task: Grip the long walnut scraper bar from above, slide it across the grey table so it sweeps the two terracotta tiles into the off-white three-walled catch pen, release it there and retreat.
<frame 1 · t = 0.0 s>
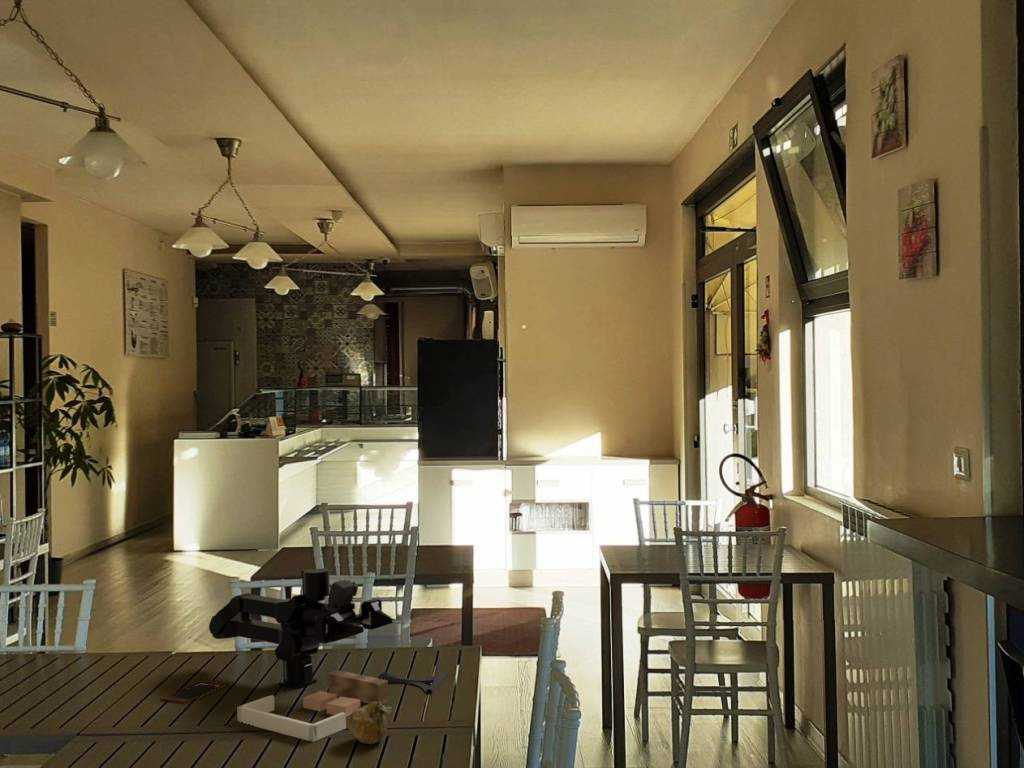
hand: (377, 625, 218), 17 cm above the table, tool horizontal, fingers open, 9 cm apart
smartphone: (195, 695, 228), on the table
tile b: (343, 713, 212), on the table
bracket: (410, 686, 232), on the table
tile a: (320, 707, 216), on the table
catch pen: (291, 724, 205), on the table
onion: (368, 742, 194), on the table
scraper bar: (358, 699, 221), on the table
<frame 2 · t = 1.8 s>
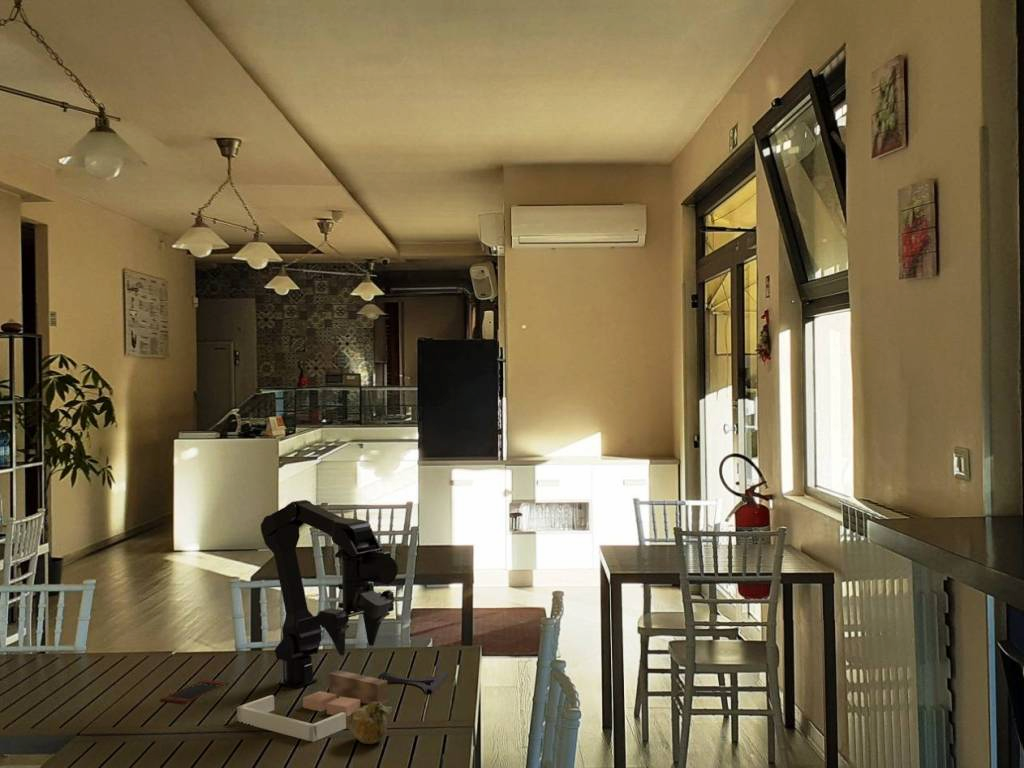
hand: (356, 650, 221), 11 cm above the table, tool pointing down, fingers open, 9 cm apart
nothing on the table moved.
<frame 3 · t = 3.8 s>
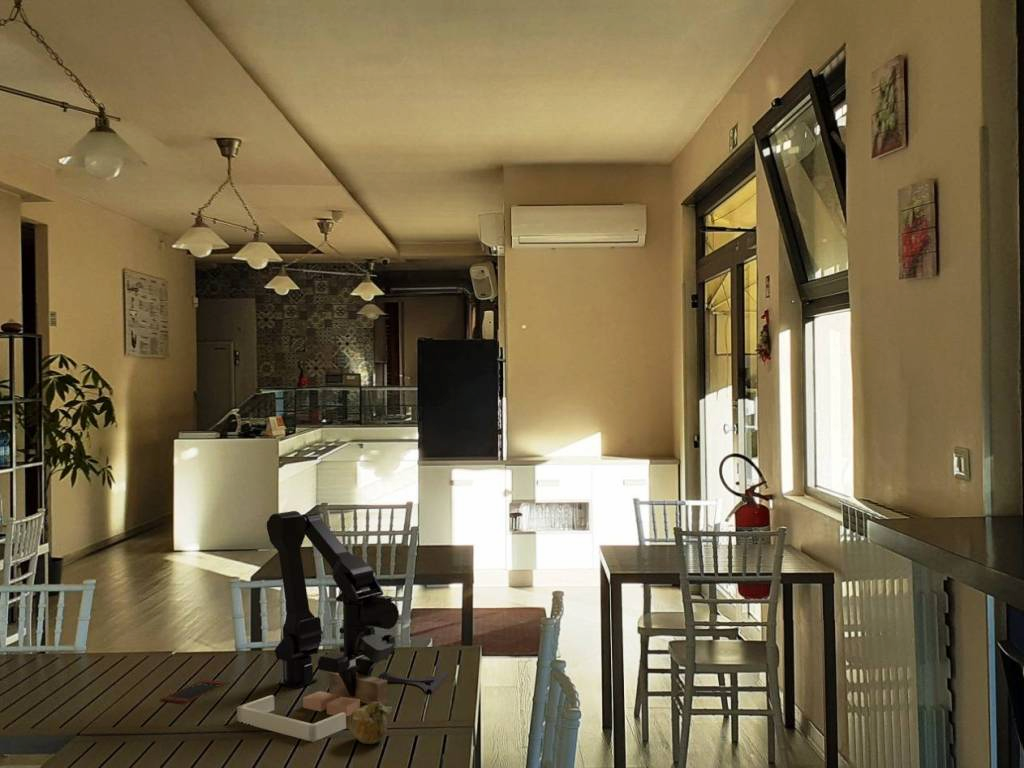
hand: (358, 694, 221), 1 cm above the table, tool pointing down, fingers closed on scraper bar, 3 cm apart
scraper bar: (358, 699, 221), on the table, touching gripper
everything else where it was.
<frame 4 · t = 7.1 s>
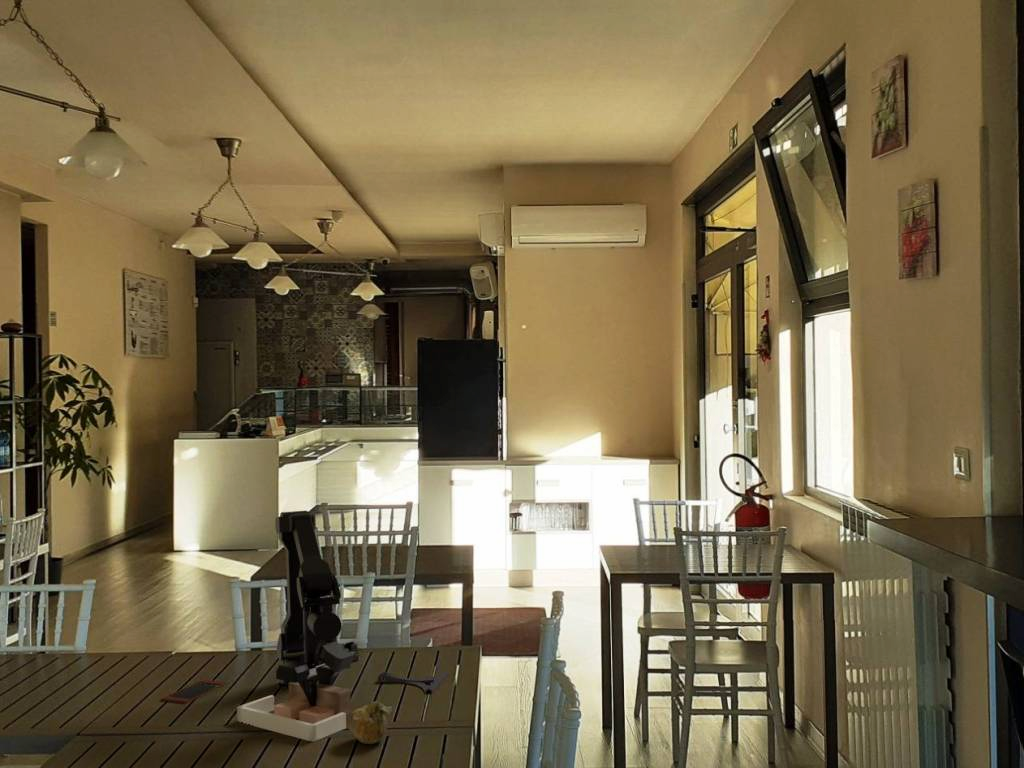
hand: (319, 704, 211), 2 cm above the table, tool pointing down, fingers closed on scraper bar, 3 cm apart
tile b: (317, 723, 206), on the table, touching scraper bar
tile a: (291, 716, 210), on the table
scraper bar: (319, 709, 211), point 1 cm above the table, touching gripper, tile b
everything else where it was.
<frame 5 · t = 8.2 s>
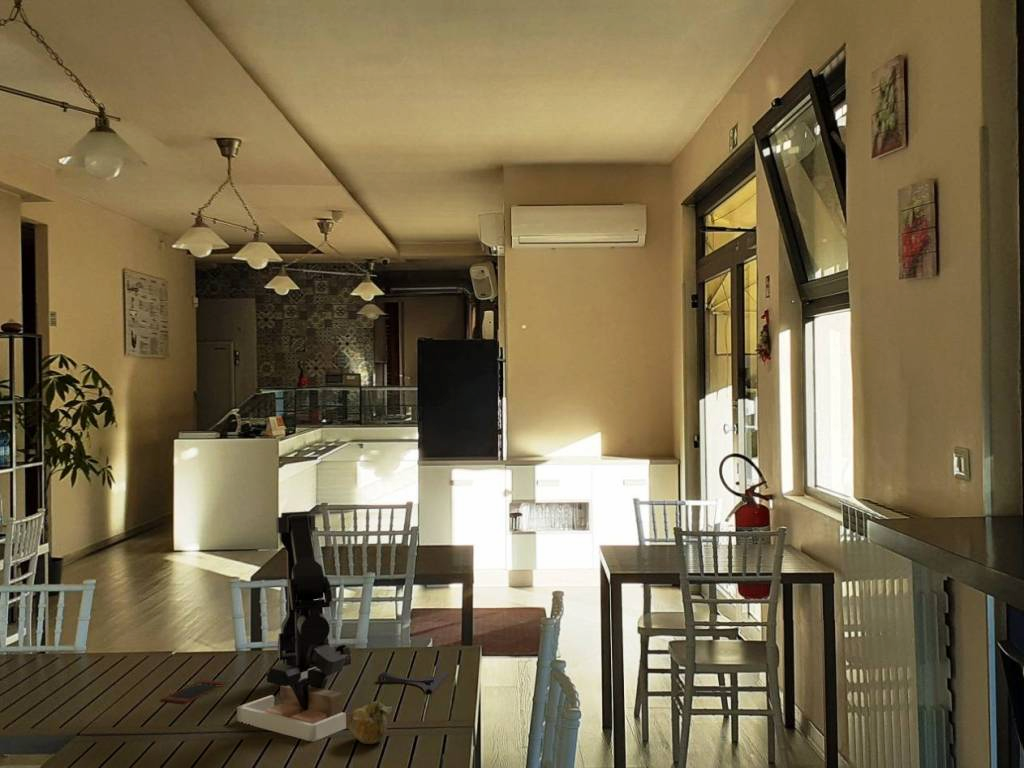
hand: (310, 707, 209), 2 cm above the table, tool pointing down, fingers closed on scraper bar, 3 cm apart
tile b: (309, 727, 204), on the table
tile a: (282, 720, 208), on the table
scraper bar: (311, 713, 209), point 1 cm above the table, touching gripper
everything else where it was.
when the fingers open (2 cm above the table, at t = 8.9 s): scraper bar stays where it is, on the table.
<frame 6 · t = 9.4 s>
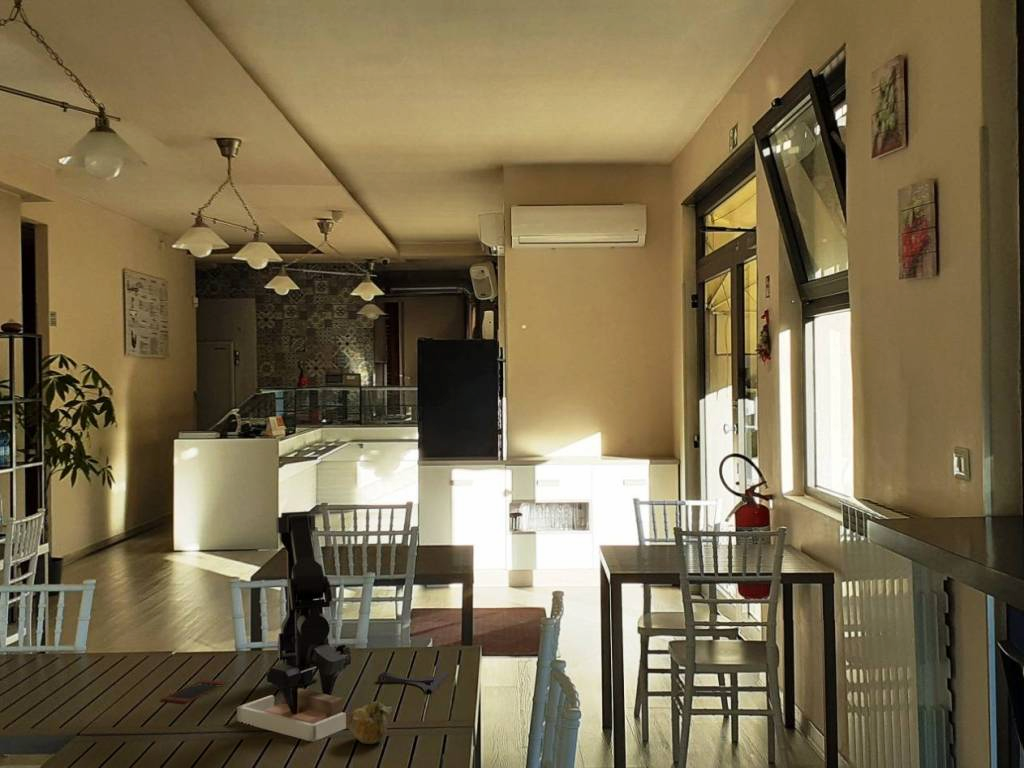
hand: (310, 707, 209), 2 cm above the table, tool pointing down, fingers open, 9 cm apart
scraper bar: (311, 718, 209), on the table
everything else where it was.
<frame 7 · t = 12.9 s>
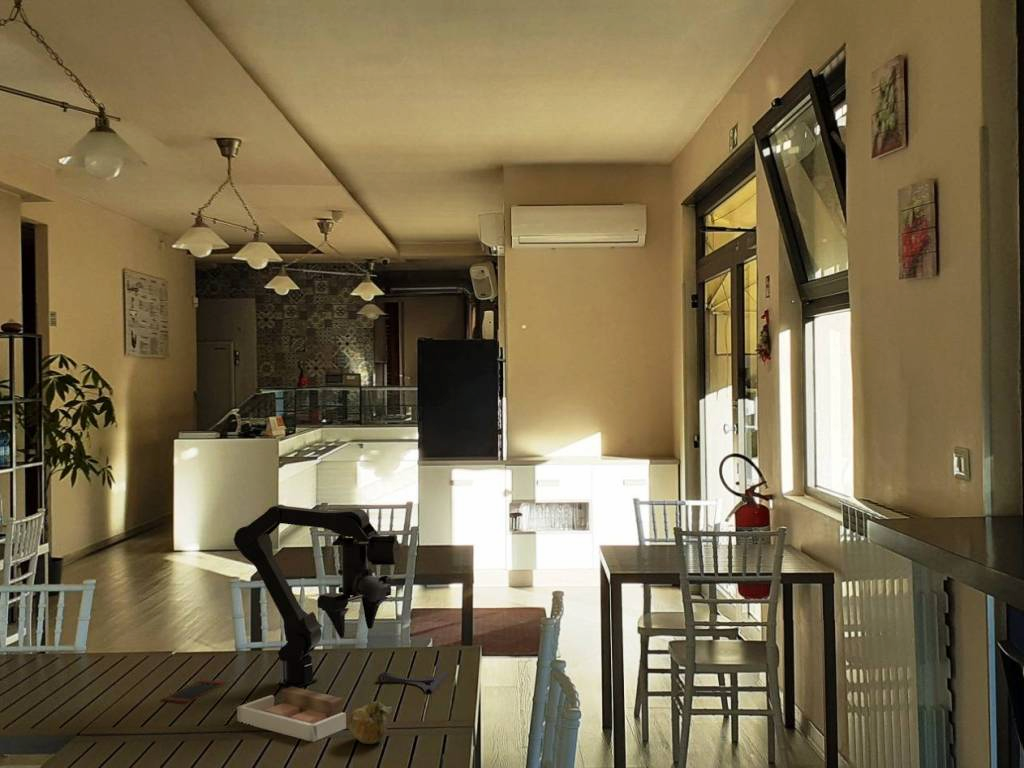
hand: (355, 632, 230), 12 cm above the table, tool pointing down, fingers open, 9 cm apart
nothing on the table moved.
at the end: tile a inside the target area (4.5 cm from its centre), on the table; tile b inside the target area (3.9 cm from its centre), on the table; scraper bar moved 13.9 cm from its start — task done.
